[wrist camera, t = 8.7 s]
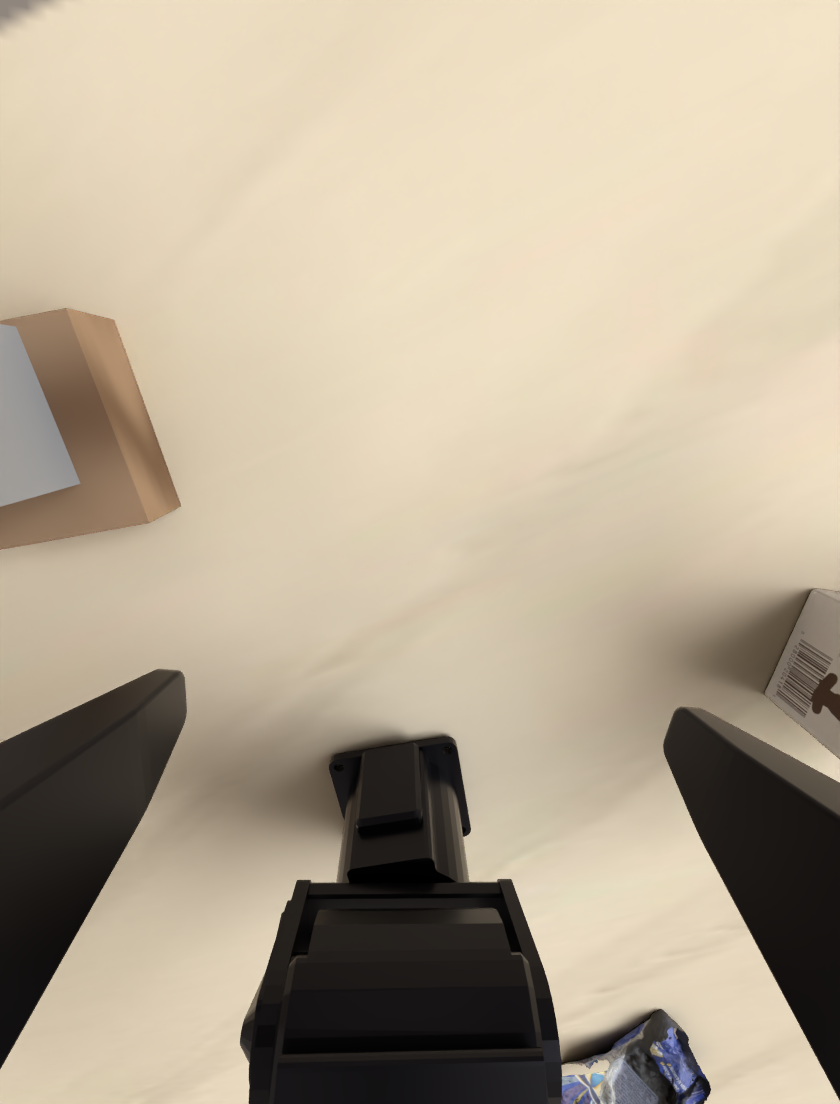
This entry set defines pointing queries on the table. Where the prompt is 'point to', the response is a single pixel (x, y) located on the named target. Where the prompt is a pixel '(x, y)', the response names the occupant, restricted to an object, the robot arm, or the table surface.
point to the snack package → (642, 1070)
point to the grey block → (27, 429)
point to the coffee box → (812, 670)
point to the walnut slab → (90, 433)
